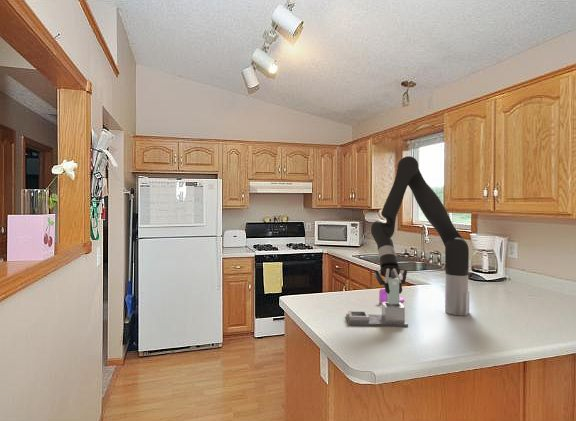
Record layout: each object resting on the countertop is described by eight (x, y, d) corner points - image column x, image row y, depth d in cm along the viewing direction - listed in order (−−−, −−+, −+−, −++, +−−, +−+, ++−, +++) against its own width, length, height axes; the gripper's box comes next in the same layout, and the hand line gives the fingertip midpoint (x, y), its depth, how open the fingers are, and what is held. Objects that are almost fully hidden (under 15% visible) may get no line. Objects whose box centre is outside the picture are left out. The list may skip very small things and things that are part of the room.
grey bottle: (397, 301, 150) (396, 270, 150) (399, 304, 145) (399, 272, 145) (387, 301, 151) (386, 270, 150) (389, 304, 146) (389, 272, 146)
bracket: (387, 305, 173) (387, 291, 173) (379, 302, 178) (379, 288, 177) (406, 301, 179) (406, 287, 179) (397, 299, 184) (397, 285, 184)
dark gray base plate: (400, 317, 154) (400, 300, 154) (407, 326, 142) (407, 309, 142) (346, 316, 156) (346, 300, 156) (348, 325, 144) (348, 308, 144)
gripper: (372, 253, 156) (377, 287, 144) (405, 253, 155) (414, 287, 143) (370, 263, 161) (375, 297, 150) (402, 263, 160) (410, 297, 149)
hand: (394, 292), depth 146 cm, fingers closed on grey bottle, 4 cm apart
